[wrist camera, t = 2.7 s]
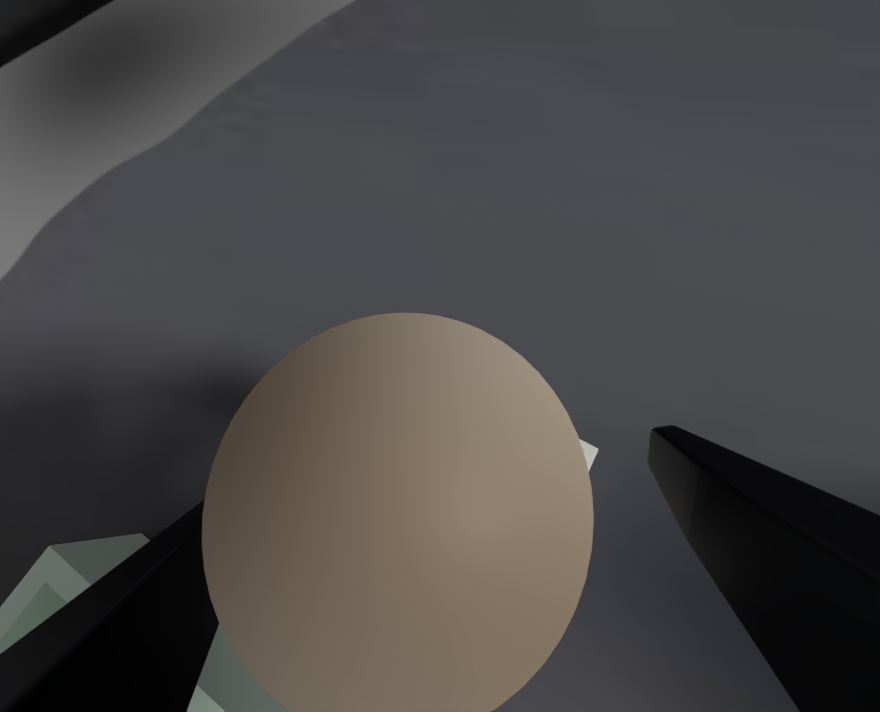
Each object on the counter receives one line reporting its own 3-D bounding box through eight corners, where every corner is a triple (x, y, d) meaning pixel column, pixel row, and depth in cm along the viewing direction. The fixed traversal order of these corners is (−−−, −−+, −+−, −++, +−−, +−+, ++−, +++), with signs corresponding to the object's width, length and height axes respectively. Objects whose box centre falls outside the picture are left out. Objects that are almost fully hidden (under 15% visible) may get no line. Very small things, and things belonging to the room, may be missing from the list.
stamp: (486, 595, 13) (534, 1202, 2) (367, 514, 15) (-17, 604, 3) (549, 462, 15) (796, 374, 3) (434, 399, 16) (325, 177, 5)
